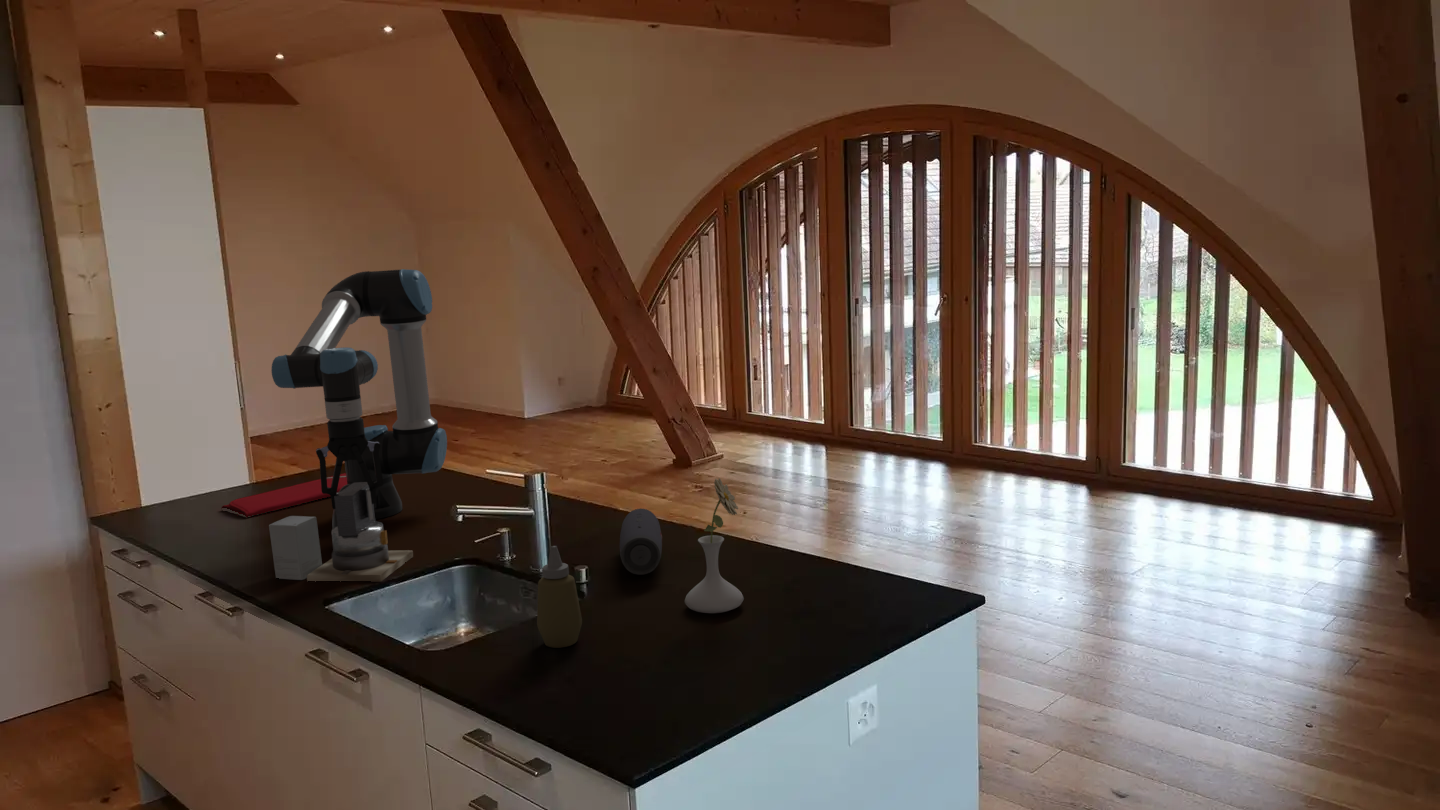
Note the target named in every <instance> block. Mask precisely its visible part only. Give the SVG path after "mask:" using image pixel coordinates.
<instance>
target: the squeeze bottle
mask: <svg viewBox="0 0 1440 810" xmlns="http://www.w3.org/2000/svg"><path fill="white" fill-rule="evenodd" d="M541 570H542V577H541V578H540V579H539V580H538V581H537V611H536V612H537V613H536V614H537V616H536V617H537V618H536V626H537V629H538V631H539V633H540V636H541V637H542V641H543V642H544V645H545V646H546V647H549V648H554V649H560V648H567V647H570V646H573V645H574V644H576V643H577V642H578V639H579V635H580V632H581V629H582V624H583V618H582V612H581V607H580V602H579V595H578V591H577V590H578V589H577V585H576V581H575V580H576V579H575V577H574V576H573V575H572V574H570V568H569V564H567V563H565V562H563V561H562V559H561V555H560V552H559V549H558V546H557V545H551V546H550V548H549V555H548V562H547V564H544V565H543V567H541Z"/></svg>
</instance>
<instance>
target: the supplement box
mask: <svg viewBox="0 0 1440 810" xmlns="http://www.w3.org/2000/svg"><path fill="white" fill-rule="evenodd" d="M268 529H269V536H270V544H271V551H272V558H273V567H274V573H275V579H276V578H279V580H294V581H303V580H305V579H306V580H307V575H308V574H309V573H311V572H312V571H314V570H315V569H317V568H318V567H320V566H321V565H323V561H322V560H323V559H322V553H321V544H320V538H319V537H320V536H319V529H318V521H317V517H316V516H305V515H304V516H303V515H289V516H286V517H284V518H282V519H279V520H277V521H274V522H272V523H270V524H269V525H268Z"/></svg>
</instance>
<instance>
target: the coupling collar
mask: <svg viewBox="0 0 1440 810" xmlns="http://www.w3.org/2000/svg"><path fill="white" fill-rule="evenodd" d="M366 489H369V486H368V484H367V482H355V483H352V484H351V485H349V486H348V487H347V488H345V489H344V490H342V491H341V492H339V493H338V494H337V495H335V496H334V500H335V509H336V517H337V527H335V528H334V529H331V540H332V549H333V551H334V554H335V555H337V556H341V557H357V556H364V555H369V554H372V553H376V552H378V551H380V550H382V549H384V548H385V545H386V544H387V545H388V544H389V542H388V532H387V531H388V530H387V529H386V530H385V529H384V524H383V522H381V521H377V520H376V521H374V520H375V514H374V504H372V511H373V519H372V520H370V519H369V512H368V503H367V494H366Z"/></svg>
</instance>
